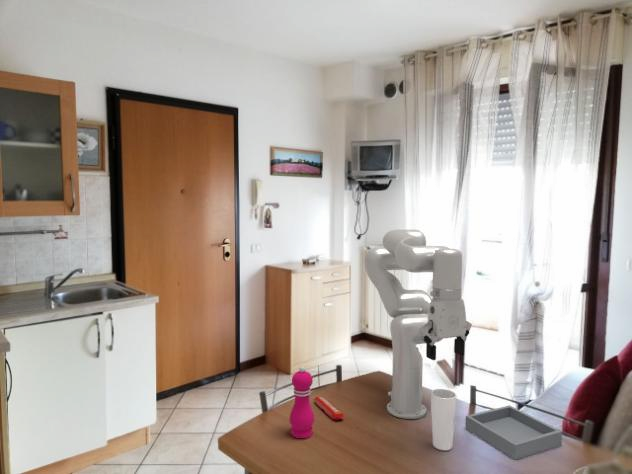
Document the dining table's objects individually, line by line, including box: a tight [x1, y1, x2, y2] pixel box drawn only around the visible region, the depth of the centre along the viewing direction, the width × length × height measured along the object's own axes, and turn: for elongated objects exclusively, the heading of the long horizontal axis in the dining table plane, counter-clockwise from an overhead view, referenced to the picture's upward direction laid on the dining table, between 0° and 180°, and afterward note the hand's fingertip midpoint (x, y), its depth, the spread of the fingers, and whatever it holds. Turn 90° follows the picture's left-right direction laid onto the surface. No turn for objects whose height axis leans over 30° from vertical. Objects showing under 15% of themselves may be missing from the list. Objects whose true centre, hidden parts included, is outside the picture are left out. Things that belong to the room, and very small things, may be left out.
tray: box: [464, 404, 563, 461], centre depth 128 cm, size 18×18×4 cm
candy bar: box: [313, 395, 345, 421], centre depth 143 cm, size 16×4×3 cm, turn 25°
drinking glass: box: [430, 388, 457, 451], centre depth 122 cm, size 7×7×15 cm
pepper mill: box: [289, 366, 315, 439], centre depth 128 cm, size 7×7×20 cm
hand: (445, 356), depth 120 cm, fingers open, 9 cm apart
